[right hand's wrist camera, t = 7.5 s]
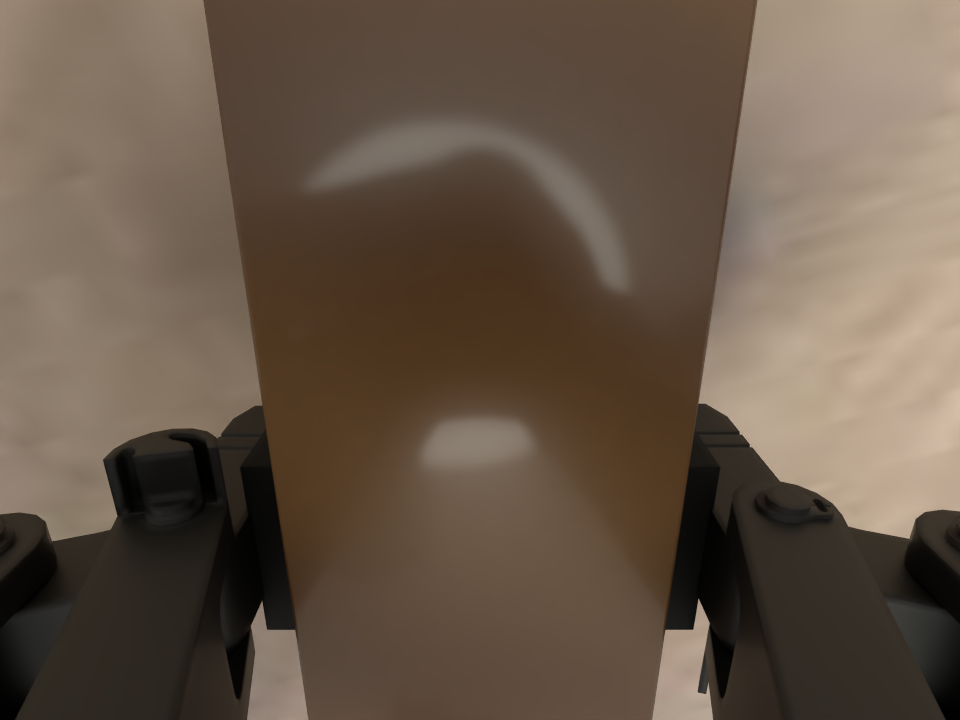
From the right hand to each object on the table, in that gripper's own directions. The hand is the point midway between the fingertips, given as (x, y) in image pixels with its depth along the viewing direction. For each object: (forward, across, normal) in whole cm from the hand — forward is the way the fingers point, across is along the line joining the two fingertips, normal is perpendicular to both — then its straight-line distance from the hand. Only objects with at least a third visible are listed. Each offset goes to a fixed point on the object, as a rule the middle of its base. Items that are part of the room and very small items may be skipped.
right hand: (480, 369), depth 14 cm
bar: (+1, 0, -28) cm, 29 cm away
